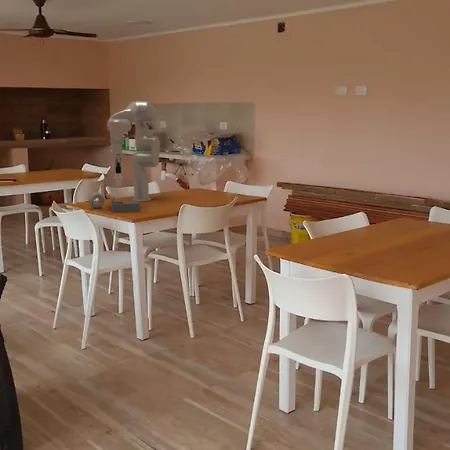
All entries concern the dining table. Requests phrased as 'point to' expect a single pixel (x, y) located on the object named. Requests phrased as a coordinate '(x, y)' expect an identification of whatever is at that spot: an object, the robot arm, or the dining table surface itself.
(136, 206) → the socket block
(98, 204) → the donut
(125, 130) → the robot arm
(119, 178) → the plug
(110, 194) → the clip
